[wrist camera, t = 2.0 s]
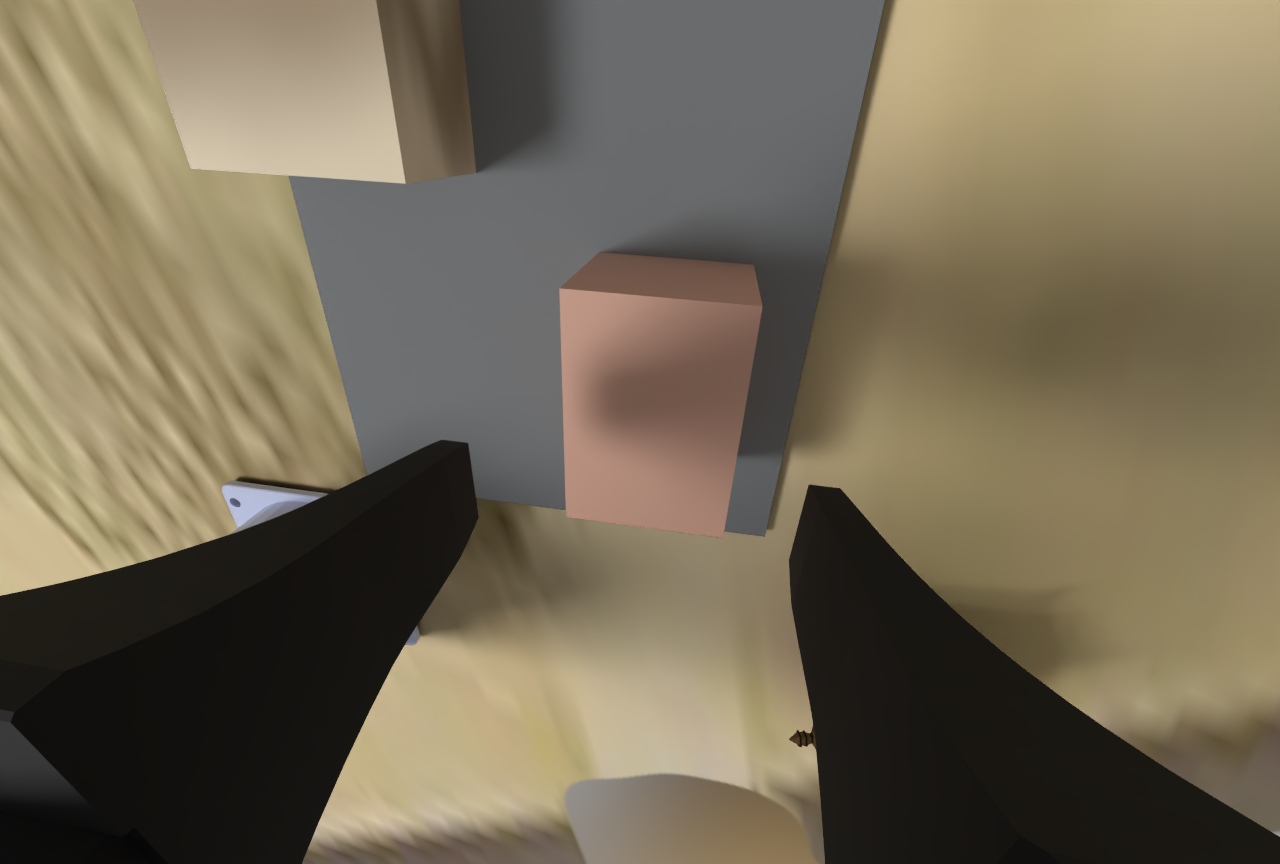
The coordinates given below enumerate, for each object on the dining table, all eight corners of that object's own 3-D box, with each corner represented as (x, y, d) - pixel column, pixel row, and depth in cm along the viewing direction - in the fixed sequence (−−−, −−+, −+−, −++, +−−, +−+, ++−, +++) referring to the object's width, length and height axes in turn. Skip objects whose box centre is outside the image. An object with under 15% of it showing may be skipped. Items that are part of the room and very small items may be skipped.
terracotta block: (723, 457, 19) (722, 538, 15) (597, 442, 20) (566, 517, 16) (753, 264, 16) (762, 306, 12) (599, 252, 16) (559, 288, 12)
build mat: (764, 530, 21) (765, 536, 21) (374, 478, 23) (369, 483, 22) (955, -335, 10) (963, -351, 10) (173, -310, 12) (157, -323, 11)
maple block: (476, 173, 16) (405, 183, 12) (305, 161, 16) (190, 168, 13) (443, -161, 12) (330, -279, 9) (225, -161, 13) (38, -273, 9)
